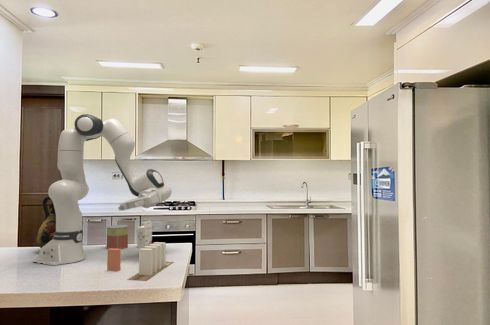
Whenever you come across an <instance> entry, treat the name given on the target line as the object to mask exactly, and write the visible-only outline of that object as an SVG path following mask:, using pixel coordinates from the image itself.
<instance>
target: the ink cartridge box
mask: <svg viewBox="0 0 490 325" xmlns="http://www.w3.org/2000/svg"><path fill="white" fill-rule="evenodd" d="M152 223H153V222H152V220H147V221H144V223H143V225H141V226H137V227H136V241H137V242H136V245H137V246H136V248H137V249H141V248H142V249H144V247H146V246H149V245H150V244H153V225H152Z"/></svg>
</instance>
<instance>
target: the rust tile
mask: <svg viewBox="0 0 490 325" xmlns="http://www.w3.org/2000/svg"><path fill="white" fill-rule="evenodd" d="M106 250H107V256H106V257H107V259H106V260H107V262H106V263H107V264H106V268H107V270H106V271H107V272H120V271H121V254H122V253H121V252H122V249H112V248H110V249H106Z"/></svg>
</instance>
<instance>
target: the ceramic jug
mask: <svg viewBox="0 0 490 325" xmlns="http://www.w3.org/2000/svg"><path fill="white" fill-rule="evenodd" d="M48 201H52V200H51V198H50V197H49V195H48V196H46V197H44V198H43V200H42V208H43V212H44V214H45V215H44V219H43V222H42V224H41V225H40V227H39V229H38V231H37V233H36V244H37V246H38V247H39V248H40V249H41V248H42V247H43V246H45V245H46V244H47V243H48V242H50V241H51V240H52V238H53V235H52V234H51V233H54V232H55V231H56V213H55V208H54V204H53V202H51V204H49V206H48V204H47V203H48ZM48 207H49V208H48ZM49 209H51V211H50V212H49ZM51 235H52V236H51Z"/></svg>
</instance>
